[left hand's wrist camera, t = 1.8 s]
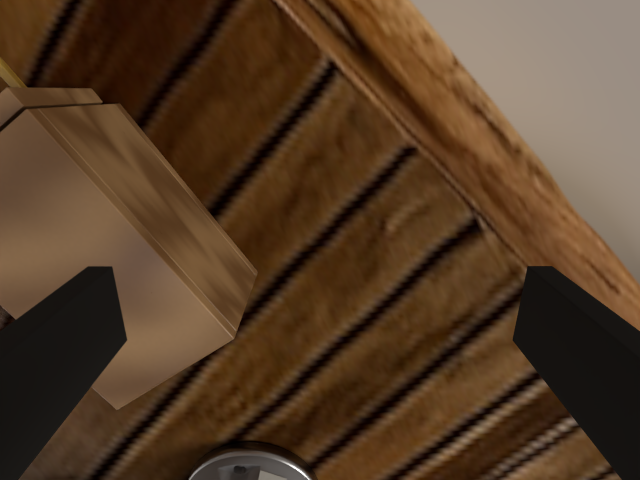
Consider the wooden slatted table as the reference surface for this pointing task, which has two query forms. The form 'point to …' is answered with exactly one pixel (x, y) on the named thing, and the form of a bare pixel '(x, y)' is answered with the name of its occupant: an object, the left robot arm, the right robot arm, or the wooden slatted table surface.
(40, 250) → the cabinet
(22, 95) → the drawer
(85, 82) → the wooden slatted table surface
